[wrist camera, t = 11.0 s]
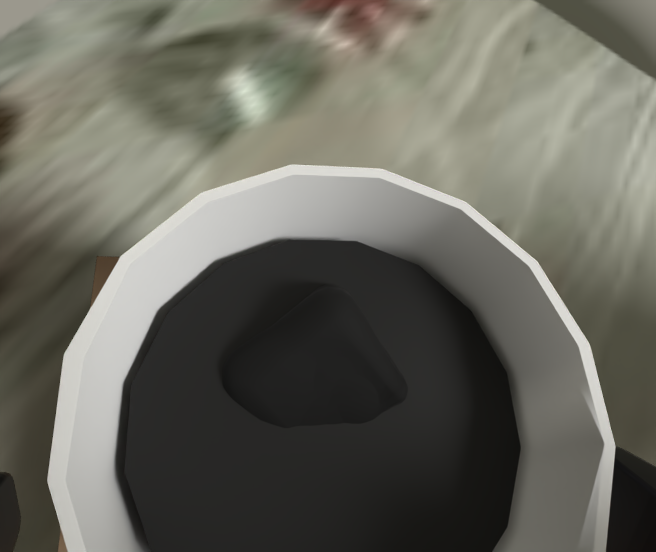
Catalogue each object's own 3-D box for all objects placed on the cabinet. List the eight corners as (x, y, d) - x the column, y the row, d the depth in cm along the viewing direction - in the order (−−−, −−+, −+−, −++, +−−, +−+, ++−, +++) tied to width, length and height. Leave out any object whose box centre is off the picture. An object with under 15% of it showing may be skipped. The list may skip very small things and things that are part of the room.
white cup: (121, 423, 15) (-69, 332, 5) (306, 301, 17) (389, 93, 8) (252, 636, 13) (291, 987, 4) (433, 472, 16) (714, 463, 6)
